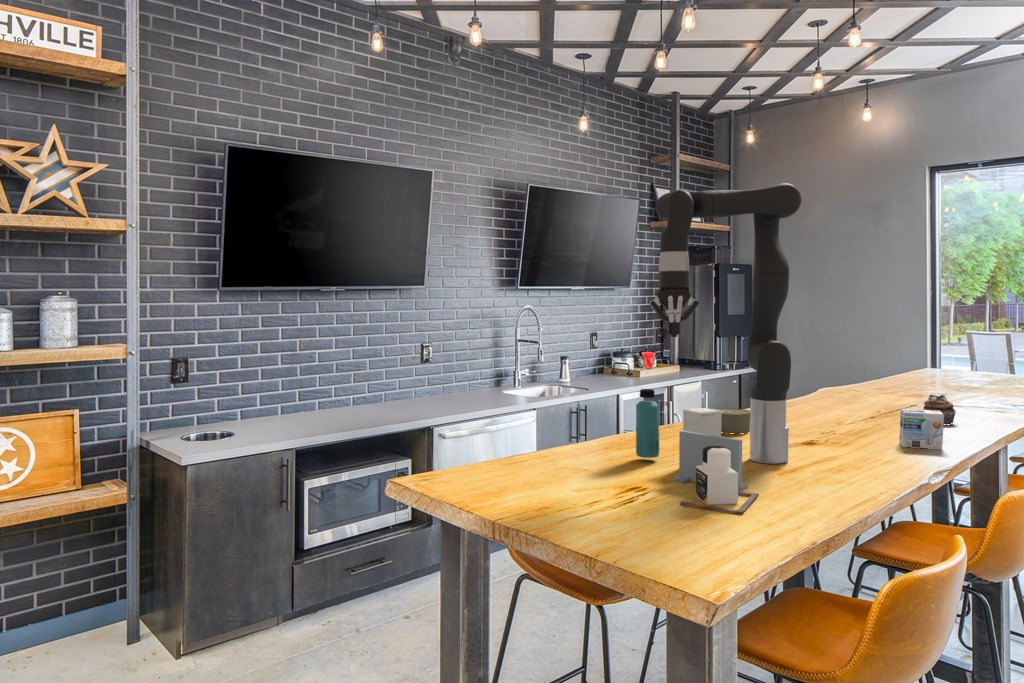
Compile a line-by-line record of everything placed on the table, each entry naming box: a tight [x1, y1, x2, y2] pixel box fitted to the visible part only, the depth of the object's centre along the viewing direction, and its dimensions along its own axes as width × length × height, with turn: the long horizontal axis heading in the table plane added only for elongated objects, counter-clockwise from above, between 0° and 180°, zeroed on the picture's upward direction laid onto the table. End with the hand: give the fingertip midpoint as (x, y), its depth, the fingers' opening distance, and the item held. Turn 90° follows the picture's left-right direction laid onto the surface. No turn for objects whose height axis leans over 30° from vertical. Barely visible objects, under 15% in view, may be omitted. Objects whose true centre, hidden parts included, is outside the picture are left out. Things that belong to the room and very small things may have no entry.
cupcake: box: [922, 394, 957, 424], centre depth 240 cm, size 10×10×10 cm
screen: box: [672, 429, 748, 491], centre depth 165 cm, size 16×7×12 cm, turn 43°
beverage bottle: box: [635, 388, 660, 459], centre depth 189 cm, size 6×7×20 cm
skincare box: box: [682, 407, 722, 436], centre depth 181 cm, size 8×7×16 cm
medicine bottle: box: [695, 446, 739, 506], centre depth 152 cm, size 7×7×12 cm
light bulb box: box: [898, 408, 944, 450], centre depth 204 cm, size 11×7×11 cm, turn 68°
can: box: [714, 408, 750, 434], centre depth 229 cm, size 12×12×7 cm
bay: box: [679, 490, 760, 516], centre depth 152 cm, size 13×15×1 cm
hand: (673, 336), depth 177 cm, fingers closed
